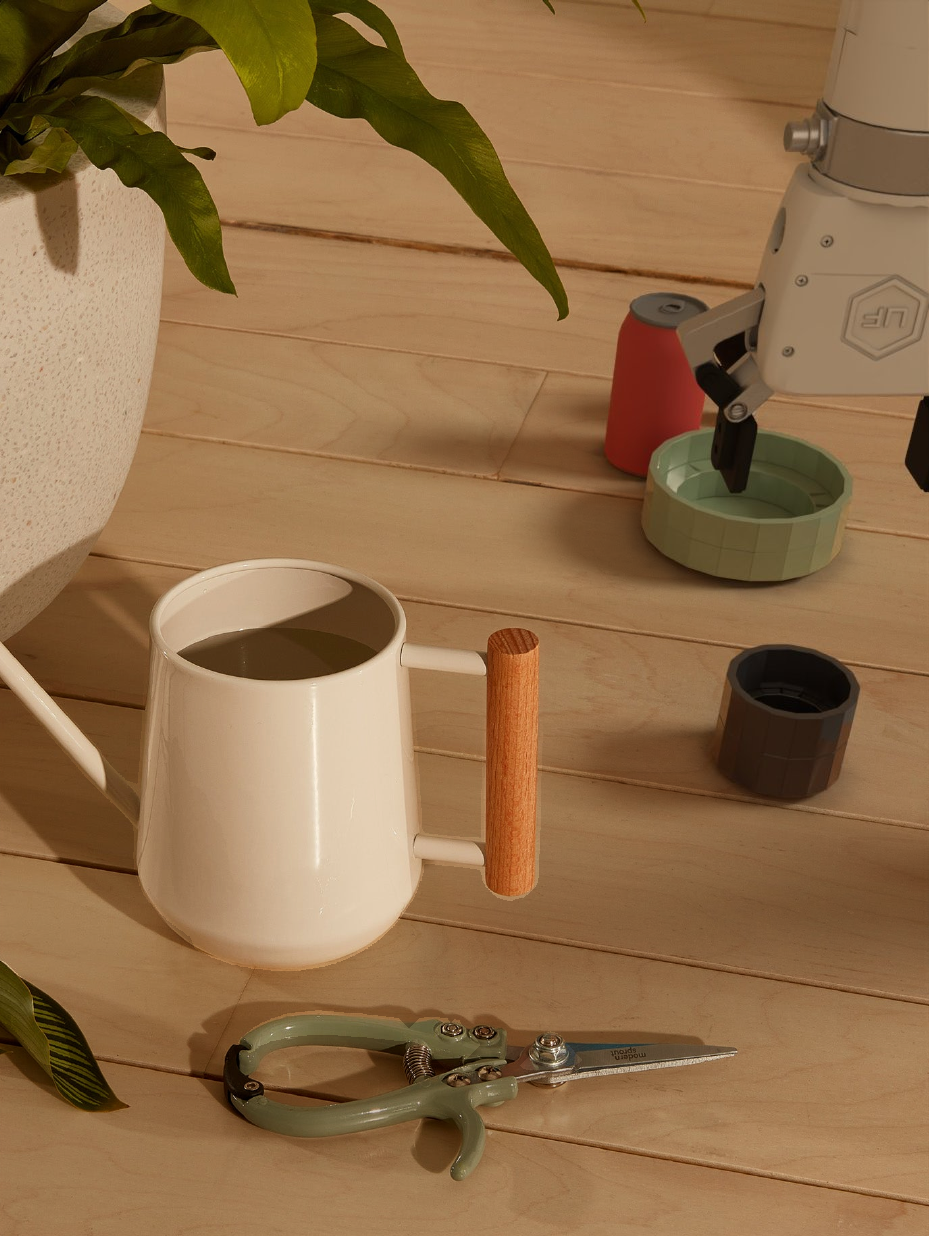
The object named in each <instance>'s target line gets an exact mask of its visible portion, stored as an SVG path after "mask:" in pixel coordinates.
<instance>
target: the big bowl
mask: <svg viewBox="0 0 929 1236" xmlns="http://www.w3.org/2000/svg"><path fill="white" fill-rule="evenodd" d="M714 431H715V426H712V427H706V428H700V429H699V430H694V431H688V432H685V433H682V434H680V435H678V436H675V437H673V438H670V439H668V440H666V441H664V442H663V443H662V444H661V445H660V446H659V447H658V448H657V449H656V450H655V451H654V452H653V453H652V456H651V460H650V464H649V468H648V475H647V478H646V482H645V488H644V489H645V490H644V496H643V503H642V508H641V509H642V510H641V517H640V525H641V528H642V530H643V532H644V535H645V537H646V539H647V540H648V541H649V542H650V543H651V544H652V545H653V546H654V547H655V548H656V549H657V550H658V551H659V552H660V553H661V554H662V555H664V556H665V557H668V558H670V559H671V560H673V561H674V562H677V563H678V564H680V565H681V566H684V567H686V568H689V569H691V570H692V569H693V570H695V571H698V572H701V573H704V574H707V575H710V576H713V577H718V578H726V579H732V580H738V581H743V582H780V581H786V580H790V579H797V578H801V577H807V576H809V575H811V574H813V573H815V572H817V571H819V570H821V569H823V568H825V567H827V566H828V565H829V564H830V563H831V562H832V561H833V560H834V558H835V557H837V555H838V553H839V552H840V551H841V547H842V543H843V539H844V535H845V530H846V526H847V521H848V517H849V512H850V508H851V503H852V499H853V494H854V478H853V476H852V474H851V473H850V471H849V469H848V468H847V466H846V464H845V463H844V462H843V461H841V460H840V459H839V458H838V457H836V456H835V455H833V454H832V453H831V452H830V451H829V450H827V449H825V448H823V447H821V446H819V445H816V444H814V443H812V442H810V441H808V440H805V439H804V438H801V437H797V436H793V435H790V434H786V433H783V432H779V431H775V430H772V429H771V430H770V429H762V428H758V430H757V436H756V441H755V446H754V451H753V456H752V461H751V466H750V472H749V477H748V482H747V487H746V490H745V491H742V493H730V492H729V490H728V488H727V485H726V483H725V481H724V479H723V477H722V475H721V473H720V470H714V468H713V466H712V463H711V448H712V442H713V437H714Z"/></svg>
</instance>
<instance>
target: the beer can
mask: <svg viewBox="0 0 929 1236" xmlns="http://www.w3.org/2000/svg"><path fill="white" fill-rule="evenodd" d="M628 307H629V311H628V313H627V314H626V316H625V317H624V320H623V321H622V323H621V325H620V328H619V331H618V335H617V341H616V342H617V344H616V351H615V359H614V367H613V375H612V382H611V390H610V397H609V405H608V414H607V422H606V429H605V435H604V436H605V438H604V445H603V450H604V455H605V457H606V459H607V461H608V462H610V464H611V465H612V466H613V467H615V468H617V469H618V470H620V471H621V472H624V473H626V474H628V475H631V476H635V477H639V478H646V479H647V475H648V468H649V464H650V460H651V456H652V453H653V452H654V451H655V450H656V449H657V448H658V447H659V446H660V445H661V444H662V443H663V442H664V441H666V440H668V439H670V438H673V437H675V436H678V435H680V434H682V433H685V432H688V431H694V430H699V429H701V425H702V418H703V413H704V405H705V401H706V395H707V394H706V393H705V392H704V391H703V390H702V389H701V388H700V387H699V385H698V384H697V382H696V380H695V378H694V375H693V373H692V371H691V369H690V366H689V364H688V361H687V359H686V356H685V354H684V351H683V349H682V346H681V344H680V341H679V339H678V336H677V333H676V330H677V327H678V325H679V324H680V323H682V322H683V321H685V320H688V319H690V318H692V317H694V316H696V315H699V314H701V313H703V312H705V311H708V310H710V309H711V308H710V307H709V306H708V305H707V304H706V303H705V302H704V301H703V300H701V299H699V298H697V297H695V296H691V295H688V294H684V293H678V292H664V291H659V292H650V293H646V294H643V295H640V296H638V297H636V298H634V299H633V300H632V301H631V302H630V304H629V306H628Z"/></svg>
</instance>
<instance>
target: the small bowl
mask: <svg viewBox="0 0 929 1236" xmlns="http://www.w3.org/2000/svg"><path fill="white" fill-rule="evenodd" d="M860 693H861V685H860V683H859V681H858V679H857V677H856V676H855V673H854V672H853V671H852V670H851V669H850V668H849V667H847V666H846V665H845V664H844V663H842V662H841V661H840V660H839V659H838V658H835V657H834V656H831V655H829V654H827V653H824V652H822V651H819V650H817V649H814V648H811V647H807V646H802V645H796V644H789V643H765V644H761V645H757V646H754V647H753V646H752V647H750V648H746V649H743V650H741V652H739V653H738V654H737V655H736V656H734V657H733V658H732V659H730V661H729V663H728V667H727V671H726V674H725V678H724V684H723V690H722V694H721V700H720V705H719V711H718V714H717V720H716V725H715V726H716V727H715V732H714V737H713V742H712V746H711V753H712V756H713V758H714V761H715V764H716V766H717V768H718V769H719V770H720V771H721V772H722V773H723V774H724V775H725V776H726V777H727V778H728V779H729V780H730V781H732V782H734V783H735V784H737V785H739V786H741V787H744V788H745V789H747V790H749V791H750V792H751V791H752V792H755V793H758V794H760V795H765V796H768V797H773V798H780V799H788V798H789V799H793V798H794V799H795V798H796V799H797V798H800V799H801V798H806V797H811V796H813V795H816V794H820V793H822V792H825V791H827V790H829V788H831V786H833V785H834V784H835V783H836V782H837V781H838V780H839V778H840V774H841V770H842V767H843V762H844V758H845V754H846V751H847V746H848V742H849V739H850V735H851V730H852V727H853V723H854V718H855V714H856V710H857V706H858V704H859V703H858V702H859V698H860Z"/></svg>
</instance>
